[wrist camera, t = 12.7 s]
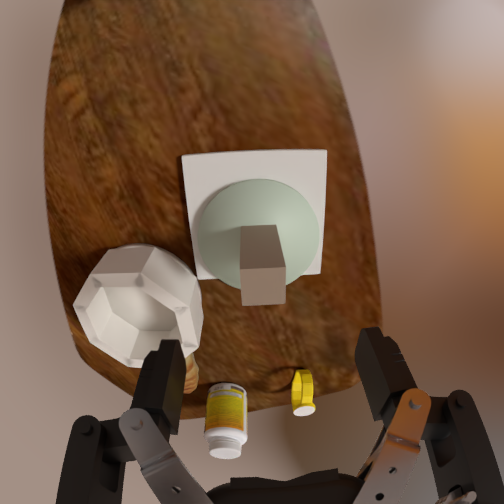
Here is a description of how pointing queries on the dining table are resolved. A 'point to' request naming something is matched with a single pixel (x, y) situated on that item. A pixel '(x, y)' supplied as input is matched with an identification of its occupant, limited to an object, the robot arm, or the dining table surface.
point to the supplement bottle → (226, 420)
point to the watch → (304, 402)
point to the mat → (253, 167)
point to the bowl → (140, 303)
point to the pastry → (191, 374)
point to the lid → (258, 238)
